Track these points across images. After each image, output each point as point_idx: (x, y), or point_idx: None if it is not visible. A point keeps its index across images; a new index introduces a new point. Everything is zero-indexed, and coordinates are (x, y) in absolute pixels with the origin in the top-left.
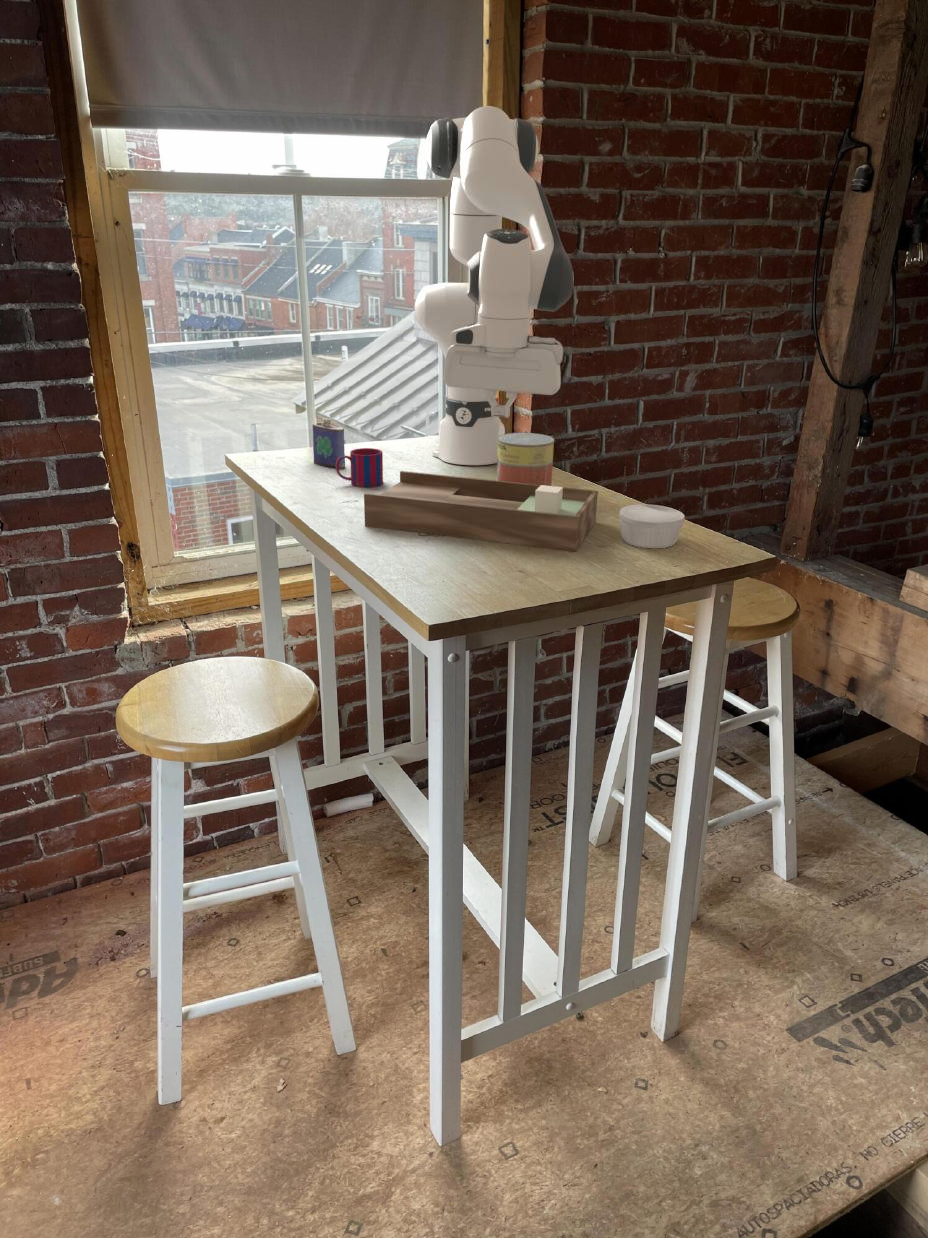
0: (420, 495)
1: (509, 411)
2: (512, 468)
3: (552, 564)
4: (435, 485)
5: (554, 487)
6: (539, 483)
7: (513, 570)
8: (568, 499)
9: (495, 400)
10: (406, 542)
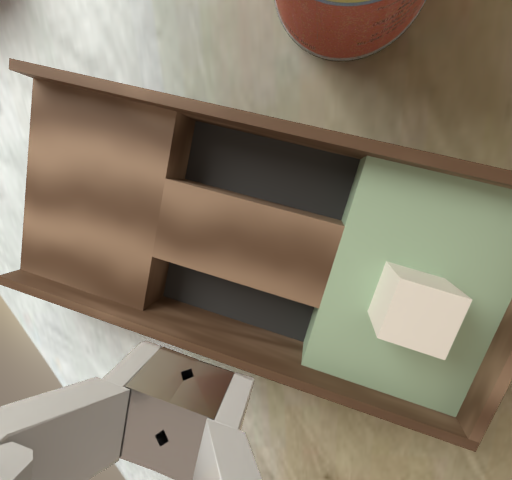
0: (101, 196)
1: (247, 404)
2: (313, 4)
3: (386, 452)
4: (115, 98)
5: (442, 303)
6: (405, 12)
7: (316, 472)
8: (480, 183)
9: (85, 417)
10: (136, 345)
